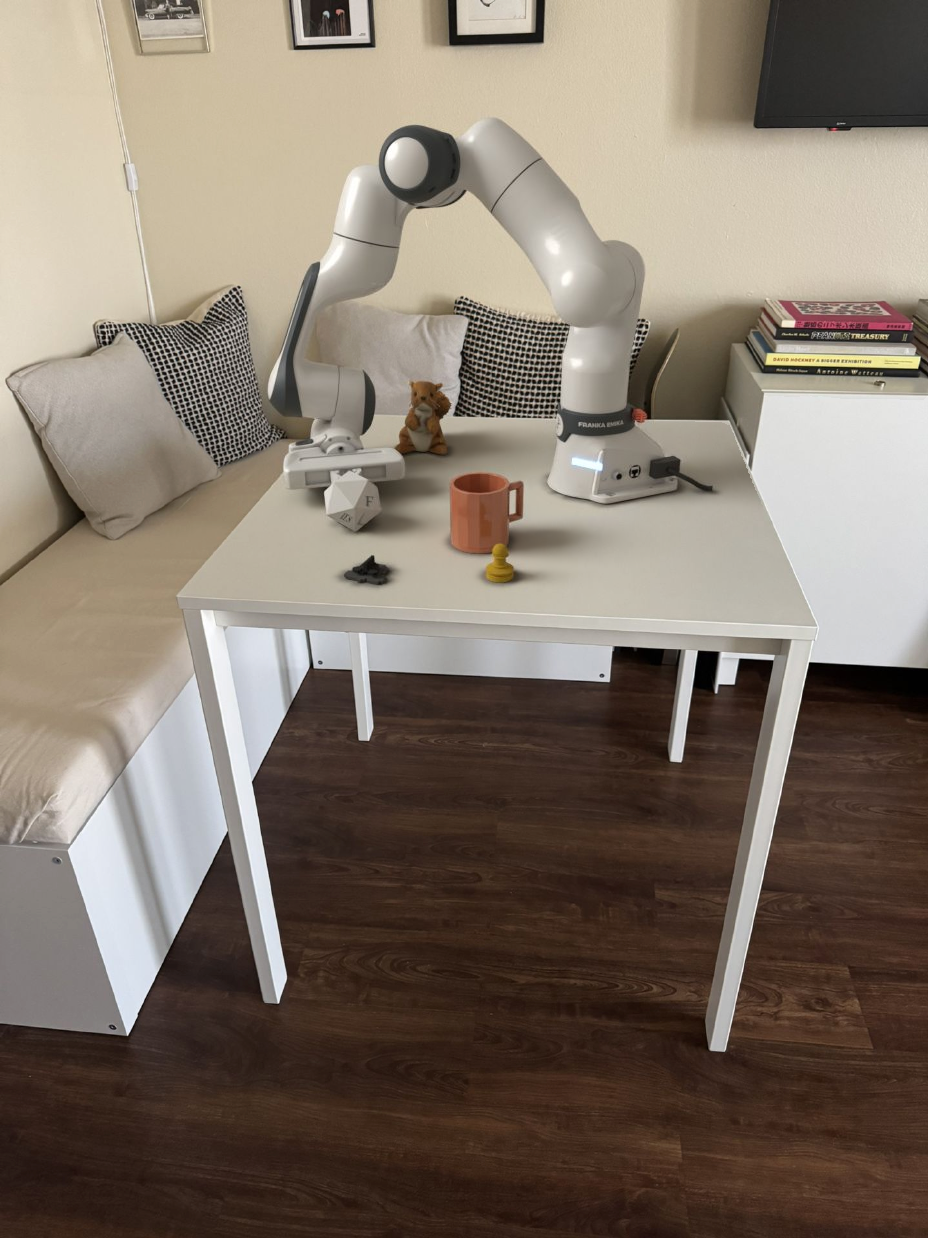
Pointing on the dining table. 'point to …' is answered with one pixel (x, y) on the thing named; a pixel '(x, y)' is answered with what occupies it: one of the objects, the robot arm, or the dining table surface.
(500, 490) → the mug
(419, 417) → the stuffed squirrel
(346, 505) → the die
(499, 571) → the chess piece
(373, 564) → the block figure
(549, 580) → the dining table surface
